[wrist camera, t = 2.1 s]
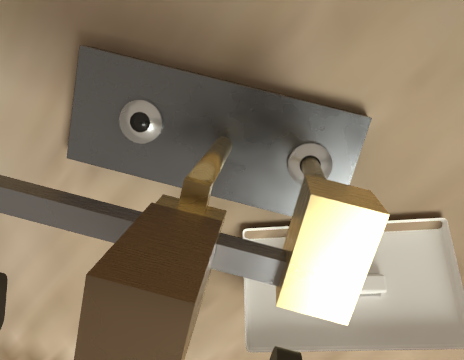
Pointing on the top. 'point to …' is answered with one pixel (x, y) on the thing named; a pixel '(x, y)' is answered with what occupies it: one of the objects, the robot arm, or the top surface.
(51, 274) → the top surface
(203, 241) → the block
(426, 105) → the top surface
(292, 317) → the light switch
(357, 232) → the dividers frame
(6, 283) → the robot arm
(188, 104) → the bolt plate
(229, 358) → the top surface
